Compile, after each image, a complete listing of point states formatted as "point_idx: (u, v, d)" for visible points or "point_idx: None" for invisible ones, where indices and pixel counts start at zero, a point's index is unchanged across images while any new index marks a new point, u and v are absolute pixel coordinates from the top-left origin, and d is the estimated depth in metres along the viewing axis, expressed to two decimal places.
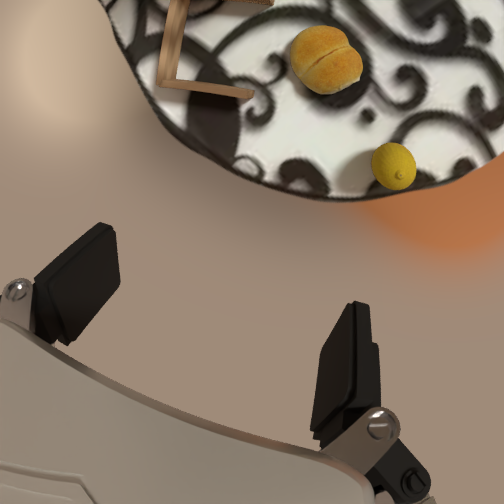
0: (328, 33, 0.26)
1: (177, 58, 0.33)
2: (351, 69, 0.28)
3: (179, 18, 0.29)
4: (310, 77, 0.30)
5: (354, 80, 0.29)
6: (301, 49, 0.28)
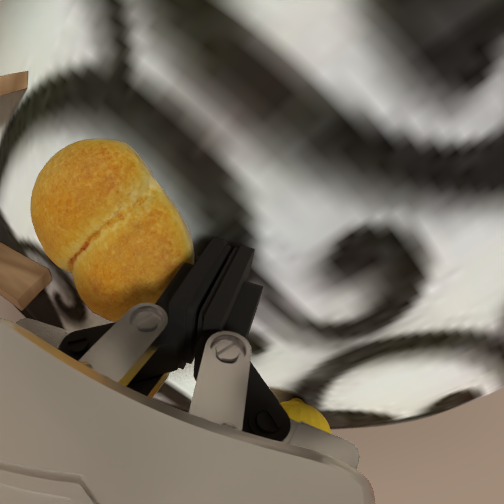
0: (63, 186, 0.09)
1: None
2: (140, 293, 0.11)
3: None
4: None
5: None
6: (38, 234, 0.11)
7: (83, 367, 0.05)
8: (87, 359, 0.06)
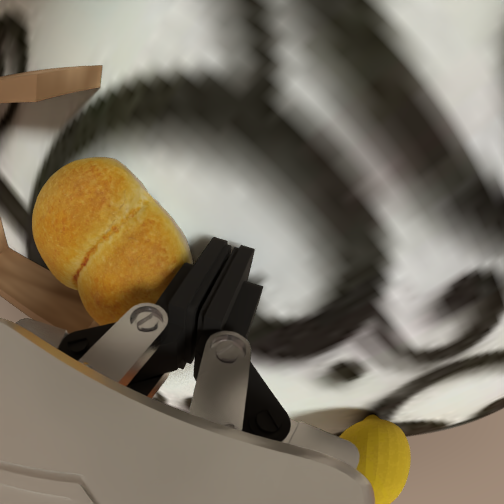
0: (58, 206, 0.10)
1: None
2: (141, 302, 0.11)
3: None
4: None
5: None
6: (42, 255, 0.12)
7: (83, 367, 0.05)
8: (87, 359, 0.06)
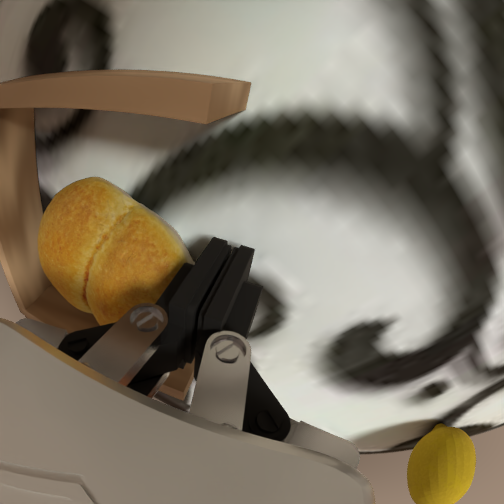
0: (52, 229, 0.10)
1: None
2: (142, 302, 0.11)
3: (9, 165, 0.11)
4: None
5: None
6: (53, 284, 0.13)
7: (83, 367, 0.05)
8: (87, 359, 0.06)
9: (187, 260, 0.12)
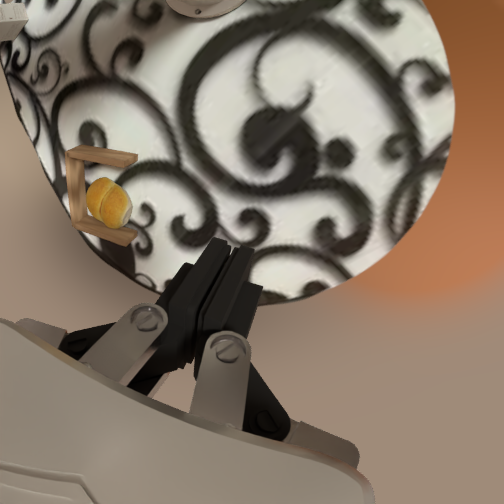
0: (93, 190, 0.42)
1: (84, 200, 0.47)
2: (115, 208, 0.42)
3: (76, 173, 0.42)
4: None
5: (124, 212, 0.43)
6: (90, 209, 0.44)
7: (83, 367, 0.05)
8: (87, 359, 0.06)
9: (127, 198, 0.43)
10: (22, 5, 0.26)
